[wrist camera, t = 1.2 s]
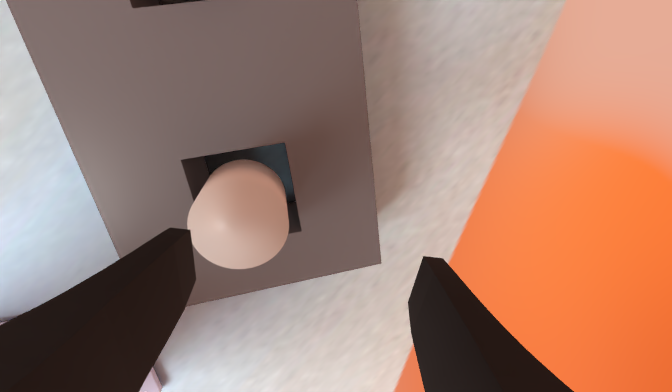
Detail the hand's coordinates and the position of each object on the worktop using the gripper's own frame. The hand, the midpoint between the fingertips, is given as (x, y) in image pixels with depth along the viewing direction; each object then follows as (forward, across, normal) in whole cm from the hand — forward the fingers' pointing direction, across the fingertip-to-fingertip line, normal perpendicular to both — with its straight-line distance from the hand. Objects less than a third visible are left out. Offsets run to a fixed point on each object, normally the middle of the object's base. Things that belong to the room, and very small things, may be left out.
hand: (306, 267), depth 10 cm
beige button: (+5, +3, +1) cm, 6 cm away
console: (+9, +5, -3) cm, 11 cm away
